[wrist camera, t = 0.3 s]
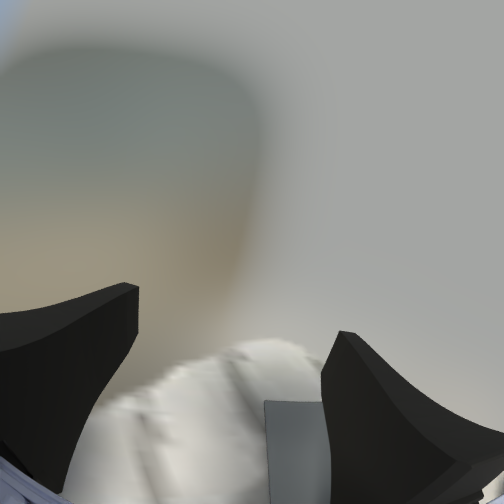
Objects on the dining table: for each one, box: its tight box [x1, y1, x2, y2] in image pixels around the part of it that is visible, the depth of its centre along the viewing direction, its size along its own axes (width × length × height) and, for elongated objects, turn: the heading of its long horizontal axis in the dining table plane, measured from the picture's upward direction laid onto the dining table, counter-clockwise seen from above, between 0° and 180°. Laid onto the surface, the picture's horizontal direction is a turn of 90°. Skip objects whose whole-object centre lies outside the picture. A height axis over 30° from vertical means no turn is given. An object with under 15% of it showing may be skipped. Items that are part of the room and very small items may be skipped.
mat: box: [264, 400, 331, 504], centre depth 24 cm, size 14×13×1 cm
